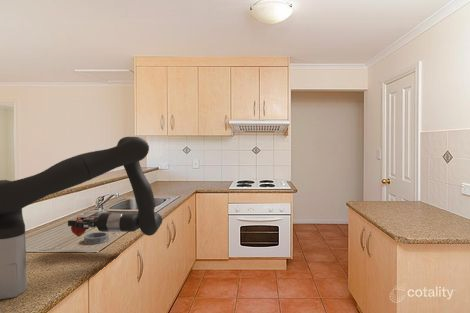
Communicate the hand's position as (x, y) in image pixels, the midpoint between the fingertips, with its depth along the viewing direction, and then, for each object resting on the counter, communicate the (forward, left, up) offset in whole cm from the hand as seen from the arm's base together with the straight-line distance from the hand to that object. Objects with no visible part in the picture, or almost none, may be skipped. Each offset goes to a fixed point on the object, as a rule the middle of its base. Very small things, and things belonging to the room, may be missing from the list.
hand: (72, 221), depth 133 cm
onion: (-1, -2, -6) cm, 7 cm away
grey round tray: (+10, -9, -12) cm, 18 cm away
